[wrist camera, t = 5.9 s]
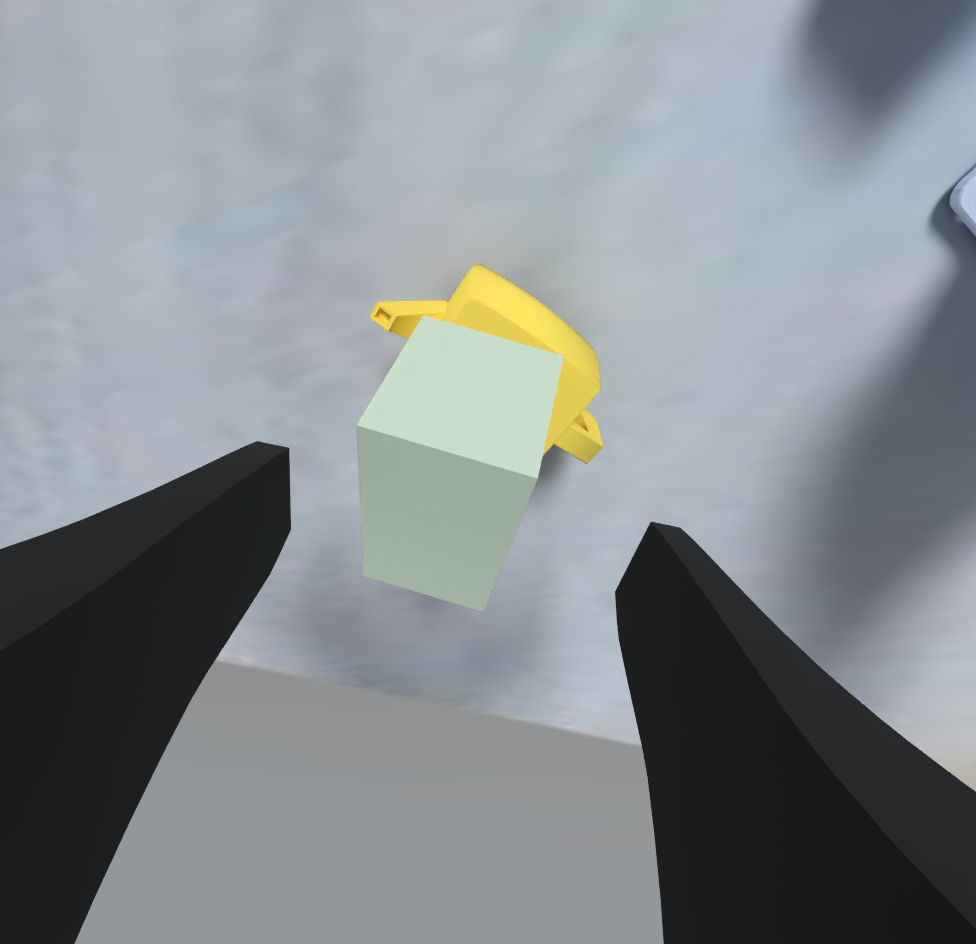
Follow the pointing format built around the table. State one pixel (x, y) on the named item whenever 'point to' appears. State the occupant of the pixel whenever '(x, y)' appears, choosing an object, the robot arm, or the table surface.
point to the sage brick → (452, 459)
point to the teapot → (526, 321)
